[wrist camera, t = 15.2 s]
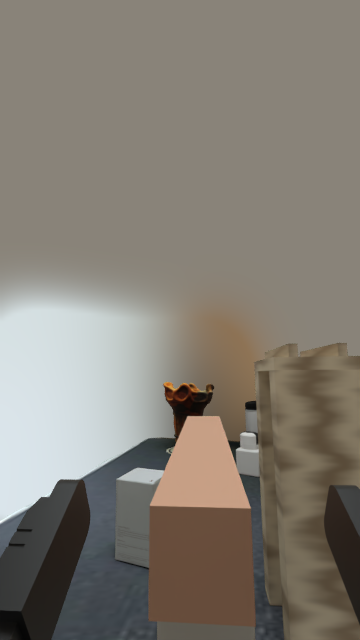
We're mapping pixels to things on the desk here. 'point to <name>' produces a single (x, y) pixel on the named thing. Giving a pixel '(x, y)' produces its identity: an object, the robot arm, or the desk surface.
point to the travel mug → (251, 416)
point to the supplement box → (134, 514)
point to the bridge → (306, 482)
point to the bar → (201, 534)
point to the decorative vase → (186, 403)
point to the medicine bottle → (248, 454)
